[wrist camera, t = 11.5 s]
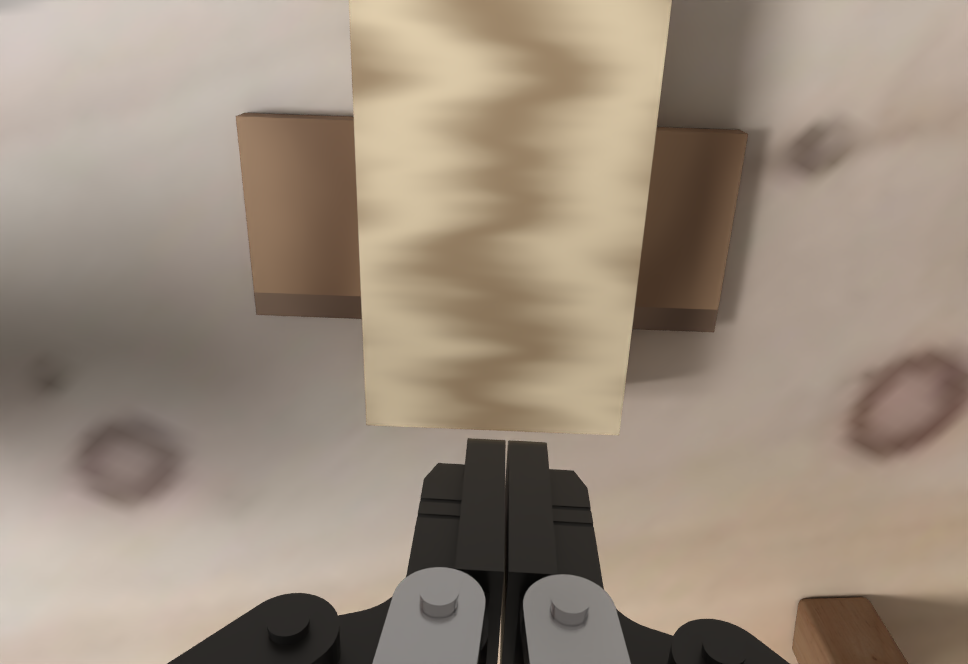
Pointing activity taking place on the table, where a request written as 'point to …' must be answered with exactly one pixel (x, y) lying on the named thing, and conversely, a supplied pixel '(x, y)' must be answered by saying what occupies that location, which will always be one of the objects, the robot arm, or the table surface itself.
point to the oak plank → (502, 206)
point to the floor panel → (335, 240)
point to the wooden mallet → (842, 633)
